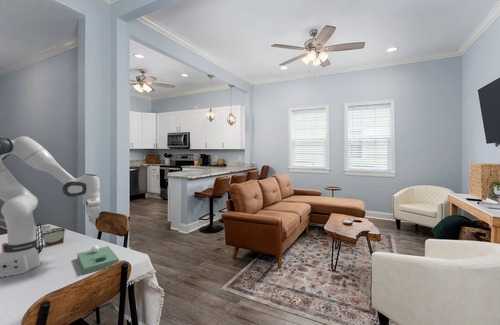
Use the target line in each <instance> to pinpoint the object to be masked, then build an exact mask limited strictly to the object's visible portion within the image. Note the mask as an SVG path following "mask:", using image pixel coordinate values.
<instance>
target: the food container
mask: <svg viewBox="0 0 500 325" xmlns="http://www.w3.org/2000/svg"><path fill="white" fill-rule="evenodd" d="M65 232H66V229H65V228H64V227H53V228H51V229H49V230H46V231H44V232H43V234H42V236H44V239H43V241H44V245H45V246H44V248H49V247H53V246H57V245H61V244H64V239H65Z"/></svg>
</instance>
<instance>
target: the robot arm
mask: <svg viewBox="0 0 500 325" xmlns="http://www.w3.org/2000/svg"><path fill="white" fill-rule="evenodd" d="M10 155H15V156H17V157H19V158H20V160H22V161H23V162H24V163H25V164H26V165H28V166H30V167H31V168H33V169H35V170H37V171H40V172H42V171H43V172H46V173H48V174H50V175H51V176H53V177H54V178H55V179H57V181H59V182H60V183H62V184H63V186H62V193H63V194H64V195H65V196H67V197H71V198H74V197H79V196H82V205H85V213H86V214H87V215H88V221H89V222H91V225H96V220H97V219H99V216H100V206H101V204H102V203H101V192H100V189H101V182H100V177H99V176H98V175H97V174H92V173H85V174H83V175H81V176H79V177H75V176H73V175H72V174H71V173H69V172H68V171H67V170H65V168H63V167H62V166H61V165H60V164H59V163H58V162H57V161H56V159H55V158H54V156H53V155H52V154H51V153H50V152H49V151H48V150H47V149H46V148H45V147H44V146H42V145H41V144H40V143H38V142H37V141H36V140H34V139H32V138H31V137H30V136H27V135H26V136H25V135H24V136H23V135H22V136H19V137H16V138H14V139H11V138H8V137H4V136H1V135H0V200H1V201H3V202H4V204H3V205H2V207H1V208H0V212H1V215H2V217H3V218H4V223H5V226H6V230H7V242H4V243H2V244H1V249H2V252H1V253H0V277H1V278H4V277H3V276H6V277H11V275H12V276H17V275H21V274H25V273H27V272H29V271H30V270H32V269H35V268H36V267H39V266H40V265H41V264H42V261H41V259H40V257H39V251H38V248H39V242H38V241H39V240H37V238H36V227H37V225H36V222H35V219H34V210H36V209H37V207H38V204H39V200H38V197H37V196H36V195H35V194H33V193H32V192H31V191H29V189H27V188H26V187H25V186H24V185H23V184H21V183H20V182H19V181H18V180H17V179H16V177H15V176H14V175H13V174H12V173H11V171H10V170H9V169H8V168H7V167H6V166H5V164H4V163H3V160H5V159H6V158H7V157H9V156H10Z"/></svg>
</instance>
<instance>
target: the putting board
mask: <svg viewBox="0 0 500 325" xmlns="http://www.w3.org/2000/svg"><path fill="white" fill-rule="evenodd" d="M76 256H77V261H78V263H79V265H80V267H81V270H82V272H83V274H84V275H87V274H89V273H93V272H97V271H102V270H104V269H107V268H106V267H108V266H110V265H112V264H114V263H116V262H118V261H119V262H120V259H119V257H118V256H117V255H116V254H115V252H114V251H113V250H112V249H111V247H110V246H105V247H99V250H98V251H97V252H95V253H93V252H92V251H91V249H90V250H87V251H81V252H79V253H77V255H76ZM108 268H109V267H108Z"/></svg>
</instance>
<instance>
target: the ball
mask: <svg viewBox="0 0 500 325" xmlns="http://www.w3.org/2000/svg"><path fill="white" fill-rule="evenodd" d="M90 248H91V249H90V250H91V251H92V252H93V253H95V252H97V251H98V250H99V248H100V246H98V244H97V245H93V246H92V247H90Z"/></svg>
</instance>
